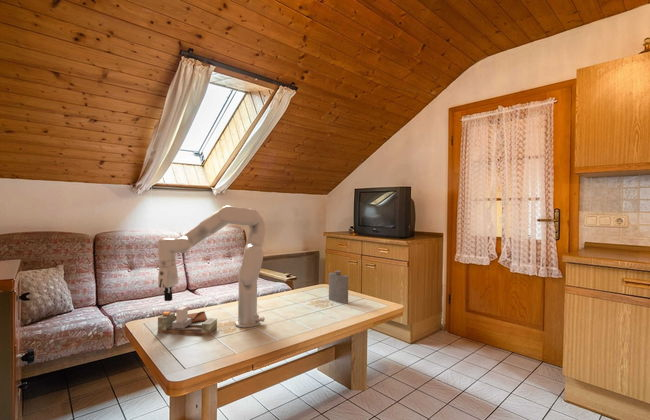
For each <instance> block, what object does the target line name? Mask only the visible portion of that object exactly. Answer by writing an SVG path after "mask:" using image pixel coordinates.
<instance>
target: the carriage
mask: <svg viewBox="0 0 650 420" xmlns="http://www.w3.org/2000/svg"><path fill="white" fill-rule="evenodd" d="M188 309H189V307H188V306H184V305H183V306H182V305H181V306H180V307H177V308H176V311H175V316H176V320H175V321H174V322H172V328H185V327H187V326H188V325H190V324H191V318H188V314H189V313H188V311H189V310H188Z"/></svg>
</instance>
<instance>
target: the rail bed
mask: <svg viewBox="0 0 650 420" xmlns="http://www.w3.org/2000/svg"><path fill="white" fill-rule="evenodd" d="M170 312H171V311H170ZM175 316H176V312H171V314H169V315H168V316H164V315H163V314H162V315H160V316H158V317H157V334H167V335H170V334H171V335H186V336H201V337H202V336H204V337H205V336H207V337H210V336H211V335H213V334H214V333H215V332H216V331H217V330H218V318H207V319H208V320H206V321H205V322H201V324H190V325H188V326H187V327H185V328H172V322H174V321H175Z"/></svg>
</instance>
